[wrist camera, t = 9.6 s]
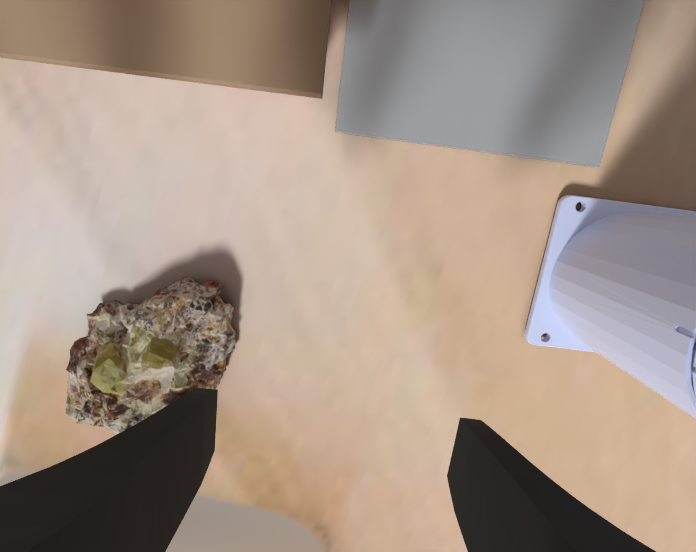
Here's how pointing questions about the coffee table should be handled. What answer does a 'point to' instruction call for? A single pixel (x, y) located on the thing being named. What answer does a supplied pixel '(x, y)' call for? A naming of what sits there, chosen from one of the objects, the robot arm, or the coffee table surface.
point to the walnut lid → (177, 39)
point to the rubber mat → (488, 74)
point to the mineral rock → (149, 354)
